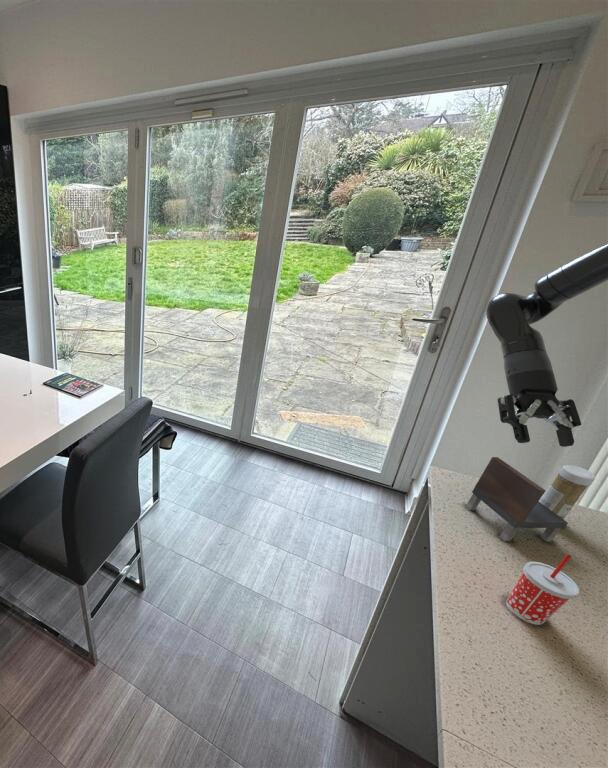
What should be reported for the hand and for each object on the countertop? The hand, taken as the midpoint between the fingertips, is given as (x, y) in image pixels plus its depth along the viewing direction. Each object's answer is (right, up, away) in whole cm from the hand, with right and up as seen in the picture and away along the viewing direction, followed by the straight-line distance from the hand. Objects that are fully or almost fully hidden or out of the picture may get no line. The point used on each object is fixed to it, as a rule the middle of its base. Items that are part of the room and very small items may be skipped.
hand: (545, 444), depth 88 cm
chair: (-11, -17, -2) cm, 20 cm away
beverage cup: (-26, -26, -20) cm, 42 cm away
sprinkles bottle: (-1, -16, -1) cm, 16 cm away
